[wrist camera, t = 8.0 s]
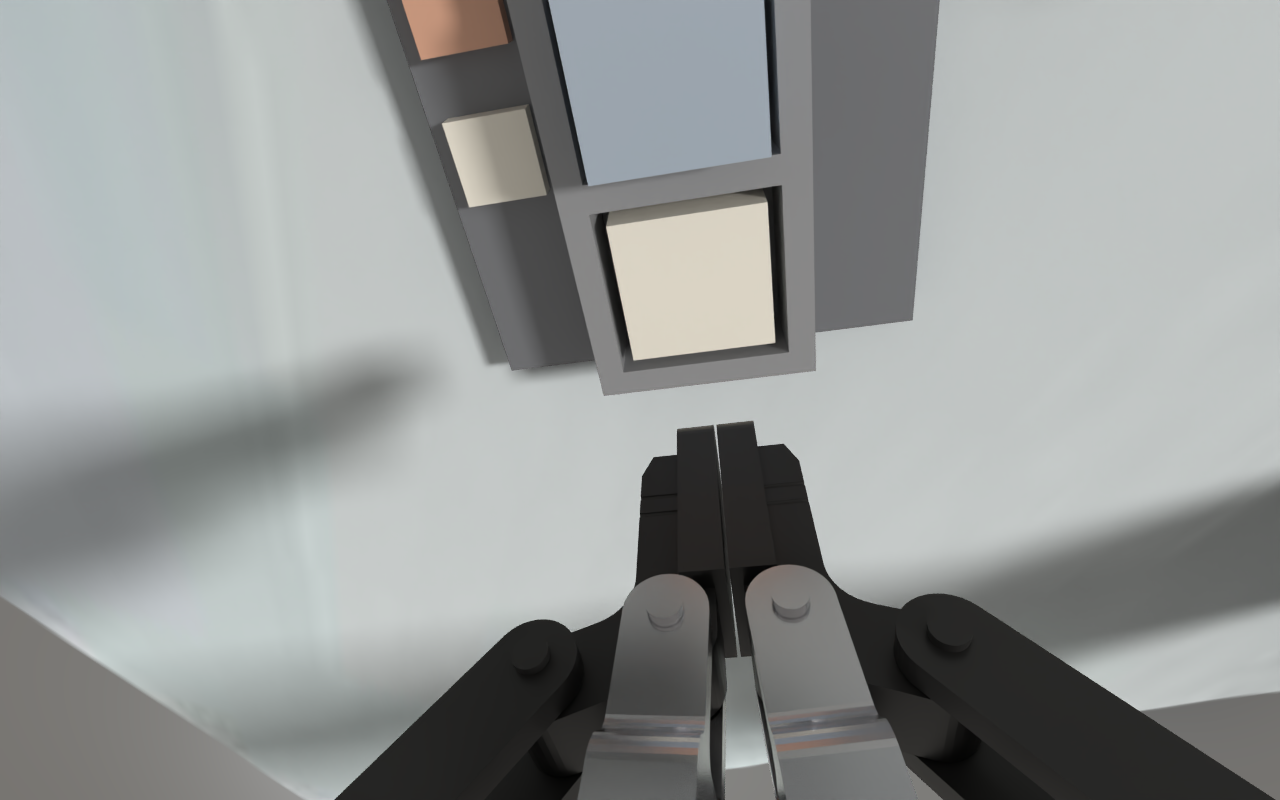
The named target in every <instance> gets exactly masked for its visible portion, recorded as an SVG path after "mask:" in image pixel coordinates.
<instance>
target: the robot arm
mask: <svg viewBox="0 0 1280 800" xmlns="http://www.w3.org/2000/svg"><path fill="white" fill-rule="evenodd" d="M717 436H718V447H719V459H720V469H719V461H718V454H717V446H716V439H715V431H714V425H710V426H701V427H692V428H682V429H677V455H671V456H661V457H654V458H653V459H652V461H651V462H650V464H649V466H648V467H647V469H646V471H645V472H644V474H643V476H642V487H641V504H640V521H639V538H638V555H637V571H636V582H635V587H634V589H633V590H632V591H631V592H630V594H629V595H628V596H627V598H626V600H625V602H624V606H623V607H622V608H621V609H620V610H618V611H617V612H616V613H615V614H613V615H612V616H610V617H609V618H607V619H605V620H603V621H601V622H598V623H596V624H593V625H591V626H588V627H585V628H583V629H580V630H577V631H575V632H572V633H571V632H570V630H569V629H568V628H566V627H565V626H564V625H562V624H560V623H559V622H556V621H553V620H534V621H529V622H526V623H523V624H521V625H519V626H517V627H516V628H514V629H512V630H511V631H510V632H508V633H507V634H506V635H505V636H504V637H503V638H502V639H501V640H500V641H499V642H497V643H496V644H495V645H494V646H493V647H492V648H491V649H490V650H489V651H488V652H487V653H486V654H485V655H484V656H483V657H482V658H481V659H480V660H479V661H478V662H477V663H476V664H475V665H474V666H473V667H472V668H471V669H469V670H468V671H467V672H466V673H465V674H464V675H463V676H462V677H461V678H460V679H459V680H458V681H457V682H456V683H455V684H454V685H453V686H452V687H451V688H450V689H449V690H448V691H447V692H446V693H445V694H444V695H443V696H442V697H440V698H439V699H438V700H437V701H436V702H435V703H434V704H433V705H432V706H431V707H430V708H429V709H428V710H427V711H426V712H425V713H424V714H423V715H422V716H421V717H420V718H419V719H418V720H417V721H416V722H415V723H414V724H412V725H411V726H410V727H409V728H408V729H407V730H406V731H405V732H404V733H403V734H402V735H401V736H400V737H399V738H398V739H397V740H396V741H395V742H394V743H393V744H392V745H391V746H390V747H389V748H388V749H387V750H386V751H385V752H383V753H382V754H381V755H380V756H379V757H378V758H377V759H376V760H375V761H374V762H373V763H372V764H371V765H370V766H369V767H368V768H367V769H366V770H365V771H364V772H363V773H362V774H361V775H360V776H359V777H358V778H357V779H355V780H354V781H353V782H352V783H351V784H350V785H349V786H348V787H347V788H346V789H345V790H344V791H343V792H342V793H341V794H340V795H339V796H338V797H337V798H336V799H335V800H725V748H726V699H725V696H726V692H727V680H726V666H725V658H732V657H737V648H736V637H735V626H734V614H733V603H732V594H733V601H734V608H735V616H736V623H737V630H738V637H739V645H740V652H741V657H744V656H752V663H753V671H754V679H755V686H756V695H757V703H758V708H759V714H760V719H761V724H762V730H763V735H764V740H765V746H766V751H767V756H768V762H769V767H770V772H771V778H772V783H773V788H774V794H775V798H776V800H918V798H917V795H916V792H915V789H914V787H913V784H912V781H911V778H910V775H909V773H908V770H907V767H908V768H909V769H910V770H912V771H913V772H914V773H915V774H916V775H917V776H918V777H919V778H920V779H921V780H923V782H925V783H926V784H927V785H928V786H929V787H930V788H931V789H932V790H933V791H935V792H936V793H937V794H938V795H939V796H940V797H941V798H942V799H943V800H1275V799H1273V798H1272V797H1270V796H1269V795H1267V794H1266V793H1264V792H1263V791H1261V790H1260V789H1258V788H1257V787H1255V786H1254V785H1252V784H1250V783H1249V782H1247V781H1246V780H1244V779H1243V778H1241V777H1240V776H1238V775H1237V774H1235V773H1234V772H1232V771H1230V770H1229V769H1227V768H1226V767H1224V766H1223V765H1221V764H1220V763H1218V762H1217V761H1215V760H1214V759H1212V758H1210V757H1209V756H1207V755H1206V754H1204V753H1203V752H1201V751H1200V750H1198V749H1197V748H1195V747H1194V746H1192V745H1191V744H1189V743H1188V742H1186V741H1184V740H1183V739H1181V738H1180V737H1178V736H1177V735H1175V734H1174V733H1172V732H1170V731H1169V730H1167V729H1166V728H1164V727H1163V726H1161V725H1160V724H1158V723H1157V722H1155V721H1154V720H1152V719H1151V718H1149V717H1148V716H1146V715H1145V714H1143V713H1141V712H1140V711H1138V710H1137V709H1135V708H1134V707H1132V706H1131V705H1129V704H1128V703H1126V702H1125V701H1123V700H1122V699H1120V698H1118V697H1117V696H1115V695H1114V694H1112V693H1111V692H1109V691H1108V690H1106V689H1105V688H1103V687H1102V686H1100V685H1099V684H1097V683H1095V682H1094V681H1092V680H1091V679H1089V678H1088V677H1086V676H1085V675H1083V674H1082V673H1080V672H1079V671H1077V670H1075V669H1074V668H1072V667H1071V666H1069V665H1068V664H1066V663H1065V662H1063V661H1062V660H1060V659H1059V658H1057V657H1056V656H1054V655H1052V654H1051V653H1049V652H1048V651H1046V650H1045V649H1043V648H1042V647H1040V646H1039V645H1037V644H1036V643H1034V642H1032V641H1031V640H1029V639H1028V638H1026V637H1025V636H1023V635H1022V634H1020V633H1019V632H1017V631H1016V630H1014V629H1013V628H1011V627H1009V626H1008V625H1006V624H1005V623H1003V622H1002V621H1000V620H999V619H997V618H996V617H994V616H993V615H991V614H990V613H988V612H986V611H985V610H983V609H982V608H980V607H979V606H977V605H975V604H974V603H972V602H970V601H968V600H965V599H963V598H960V597H957V596H953V595H947V594H927V595H923V596H919V597H917V598H914V599H912V600H911V601H909V602H908V603H907V604H905V605H904V607H903V608H902V609H897V608H892V607H887V606H882V605H877V604H873V603H869V602H865V601H862V600H860V599H857V598H855V597H853V596H851V595H849V594H847V593H846V592H844V591H843V590H842V589H840V588H839V587H838V586H837V585H836V584H835V583H834V582H833V581H832V579H831V578H830V577H829V575H828V573H827V572H826V570H825V567H824V564H823V560H822V556H821V551H820V547H819V543H818V539H817V534H816V530H815V526H814V522H813V518H812V513H811V509H810V505H809V502H808V497H807V492H806V488H805V485H804V480H803V476H802V471H801V467H800V463H799V460H798V459H797V458H796V457H795V456H794V455H793V454H792V452H791V451H790V450H789V449H788V448H787V447H786V446H785V445H784V444H777V445H768V446H757V440H756V434H755V428H754V422H753V421H746V422H737V423H728V424H718V425H717ZM720 470H721V476H720ZM721 482H722V484H721ZM730 579H731V580H730ZM731 587H732V591H731ZM906 766H907V767H906Z"/></svg>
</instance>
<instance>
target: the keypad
mask: <svg viewBox="0 0 1280 800" xmlns="http://www.w3.org/2000/svg"><path fill="white" fill-rule="evenodd" d="M939 1H940V0H764V11H765V31H766V51H767V71H768V91H769V112H770V132H771V152H772V157H769V158H763V159H756V160H750V161H744V162H738V163H731V164H725V165H719V166H713V167H706V168H700V169H694V170H688V171H681V172H675V173H669V174H663V175H656V176H650V177H644V178H638V179H632V180H625V181H619V182H613V183H607V184H600V185H594V186H588V183H587V178H586V173H585V169H584V164H583V159H582V155H581V150H580V145H579V141H578V136H577V131H576V127H575V122H574V117H573V113H572V108H571V103H570V99H569V94H568V89H567V85H566V80H565V75H564V71H563V66H562V61H561V57H560V52H559V47H558V43H557V38H556V33H555V29H554V24H553V19H552V15H551V10H550V5H549V1H548V0H387V2H388V5H389V8H390V11H391V14H392V17H393V20H394V23H395V26H396V29H397V32H398V35H399V38H400V41H401V44H402V46H403V49H404V52H405V55H406V58H407V61H408V64H409V67H410V70H411V73H412V76H413V79H414V82H415V85H416V88H417V91H418V94H419V97H420V100H421V103H422V106H423V109H424V112H425V115H426V118H427V121H428V123H429V126H430V129H431V132H432V135H433V138H434V141H435V144H436V147H437V150H438V153H439V156H440V159H441V162H442V165H443V168H444V171H445V174H446V177H447V180H448V183H449V186H450V189H451V192H452V195H453V198H454V200H455V203H456V206H457V209H458V212H459V215H460V218H461V221H462V224H463V227H464V230H465V233H466V236H467V239H468V242H469V245H470V248H471V251H472V254H473V257H474V260H475V263H476V266H477V269H478V272H479V275H480V277H481V280H482V283H483V286H484V289H485V292H486V295H487V298H488V301H489V304H490V307H491V310H492V313H493V316H494V319H495V322H496V325H497V328H498V331H499V334H500V337H501V340H502V343H503V346H504V349H505V352H506V355H507V357H508V360H509V363H510V366H511V369H512V370H520V369H528V368H536V367H544V366H552V365H560V364H568V363H576V362H584V361H592V360H595V362H596V366H597V370H598V374H599V378H600V382H601V386H602V390H603V394H604V396H606V395H615V394H623V393H632V392H640V391H649V390H657V389H665V388H674V387H682V386H691V385H699V384H708V383H716V382H725V381H733V380H742V379H750V378H759V377H767V376H775V375H784V374H792V373H801V372H809V371H816V350H815V332H823V331H831V330H839V329H847V328H855V327H863V326H870V325H878V324H886V323H894V322H902V321H910V320H913V308H914V297H915V285H916V273H917V261H918V249H919V237H920V226H921V214H922V202H923V190H924V178H925V167H926V155H927V143H928V131H929V119H930V107H931V96H932V84H933V72H934V60H935V48H936V36H937V25H938V13H939ZM759 188H762V189H763V191H764V194H765V197H766V199H767V202H768V220H769V238H770V256H771V274H772V292H773V311H774V329H775V343H770V344H762V345H754V346H746V347H738V348H730V349H722V350H714V351H706V352H698V353H690V354H682V355H674V356H666V357H658V358H650V359H642V360H633V355H632V350H631V345H630V340H629V336H628V331H627V326H626V321H625V316H624V311H623V306H622V302H621V297H620V292H619V287H618V282H617V277H616V272H615V267H614V263H613V258H612V253H611V248H610V243H609V238H608V233H607V229H606V225H607V220H608V215H609V212H611V211H617V210H624V209H630V208H636V207H643V206H649V205H656V204H662V203H669V202H675V201H682V200H688V199H695V198H701V197H708V196H714V195H721V194H727V193H733V192H740V191H746V190H753V189H759Z"/></svg>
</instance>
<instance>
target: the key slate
mask: <svg viewBox="0 0 1280 800" xmlns="http://www.w3.org/2000/svg"><path fill="white" fill-rule="evenodd" d="M548 1H549V5H550V10H551V15H552V19H553V24H554V29H555V33H556V38H557V43H558V47H559V52H560V57H561V61H562V66H563V71H564V75H565V80H566V85H567V89H568V94H569V99H570V103H571V108H572V113H573V117H574V122H575V127H576V131H577V136H578V141H579V145H580V150H581V155H582V159H583V164H584V169H585V173H586V178H587V183H588V186H594V185H600V184H607V183H613V182H619V181H625V180H632V179H638V178H644V177H650V176H656V175H663V174H669V173H675V172H681V171H688V170H694V169H700V168H706V167H713V166H719V165H725V164H731V163H738V162H744V161H750V160H756V159H763V158H769V157H772V152H771V132H770V112H769V91H768V71H767V51H766V31H765V11H764V0H548Z"/></svg>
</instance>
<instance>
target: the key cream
mask: <svg viewBox="0 0 1280 800" xmlns="http://www.w3.org/2000/svg"><path fill="white" fill-rule="evenodd" d="M606 229H607V233H608V238H609V243H610V248H611V253H612V258H613V263H614V267H615V272H616V277H617V282H618V287H619V292H620V297H621V302H622V306H623V311H624V316H625V321H626V326H627V331H628V336H629V340H630V345H631V350H632V355H633V360H642V359H650V358H658V357H666V356H674V355H682V354H690V353H698V352H706V351H714V350H722V349H730V348H738V347H746V346H754V345H762V344H770V343H775V329H774V311H773V292H772V274H771V256H770V238H769V220H768V202H767V199H766V197H765V194H764V191H763V189H762V188H759V189H753V190H746V191H740V192H733V193H727V194H721V195H714V196H708V197H701V198H695V199H688V200H682V201H675V202H669V203H662V204H656V205H649V206H643V207H636V208H630V209H624V210H617V211H611V212H609V215H608V220H607V225H606Z"/></svg>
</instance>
